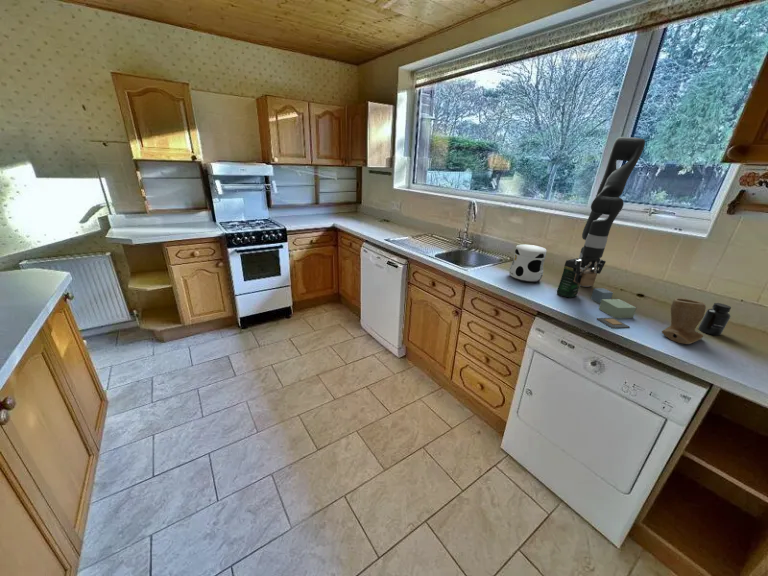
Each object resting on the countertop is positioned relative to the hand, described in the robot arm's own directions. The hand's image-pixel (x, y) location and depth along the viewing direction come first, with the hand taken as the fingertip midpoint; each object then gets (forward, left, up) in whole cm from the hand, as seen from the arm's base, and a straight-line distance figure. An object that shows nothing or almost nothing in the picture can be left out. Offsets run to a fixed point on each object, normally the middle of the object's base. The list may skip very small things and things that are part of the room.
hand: (583, 282), depth 141 cm
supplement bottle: (+26, +40, -12) cm, 49 cm away
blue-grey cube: (-6, +18, -12) cm, 23 cm away
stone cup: (+28, +22, -12) cm, 38 cm away
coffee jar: (-14, +6, -12) cm, 19 cm away
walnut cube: (0, 0, -1) cm, 1 cm away
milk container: (-37, -3, -12) cm, 39 cm away
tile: (+16, +4, -12) cm, 21 cm away
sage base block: (+7, +14, -12) cm, 20 cm away
